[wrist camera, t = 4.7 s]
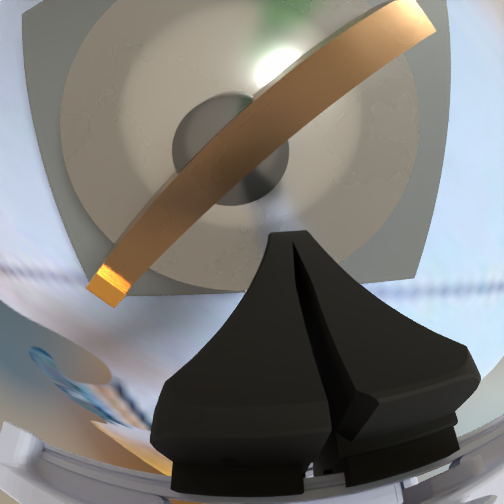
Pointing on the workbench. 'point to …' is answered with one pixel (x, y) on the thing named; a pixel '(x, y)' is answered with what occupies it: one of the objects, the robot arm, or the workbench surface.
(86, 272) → the stand plate
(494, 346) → the workbench surface
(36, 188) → the workbench surface
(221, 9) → the dial
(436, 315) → the workbench surface
